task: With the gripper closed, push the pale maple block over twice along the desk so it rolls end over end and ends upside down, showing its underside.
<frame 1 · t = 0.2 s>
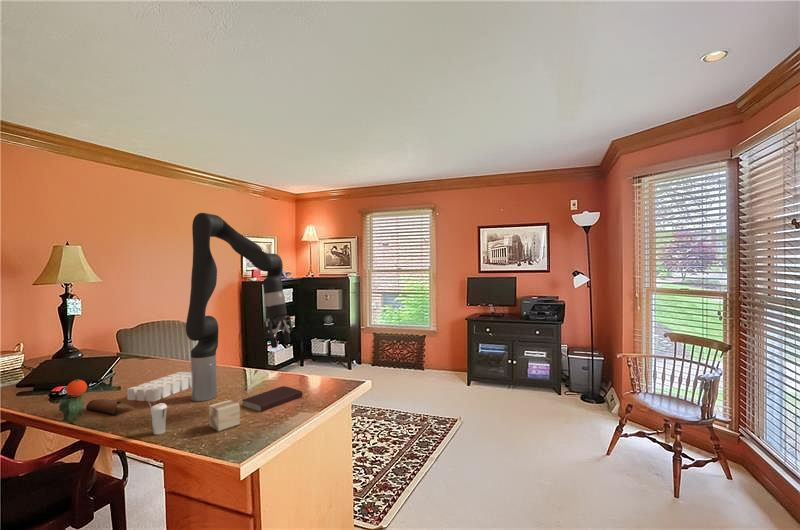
hand: (281, 345, 149), 22 cm above the table, tool pointing down, fingers open, 8 cm apart
milkshake: (158, 433, 124), on the table
maple block: (224, 426, 128), on the table
organizer: (175, 388, 173), on the table
sunglasses case: (111, 411, 146), on the table
book: (272, 403, 151), on the table
clementine: (76, 396, 164), on the table
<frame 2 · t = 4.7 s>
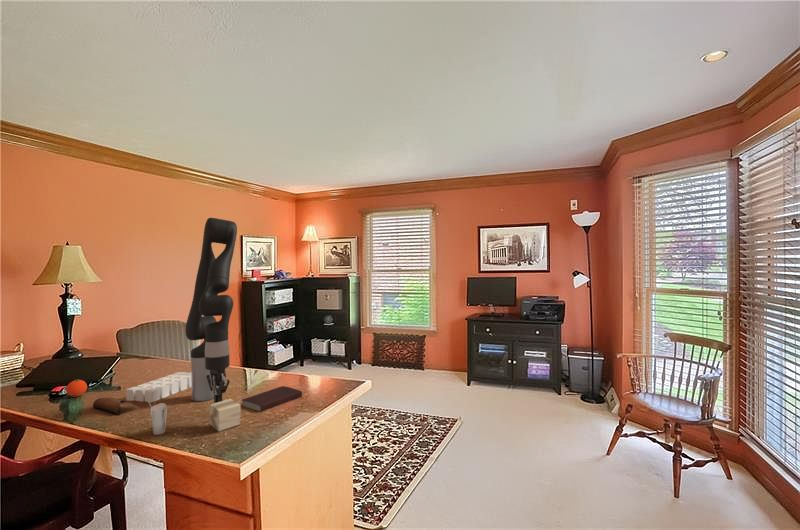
hand: (218, 404, 131), 6 cm above the table, tool pointing down, fingers closed
maple block: (224, 425, 128), on the table, touching gripper
sunglasses case: (116, 410, 148), on the table
everything else where it was.
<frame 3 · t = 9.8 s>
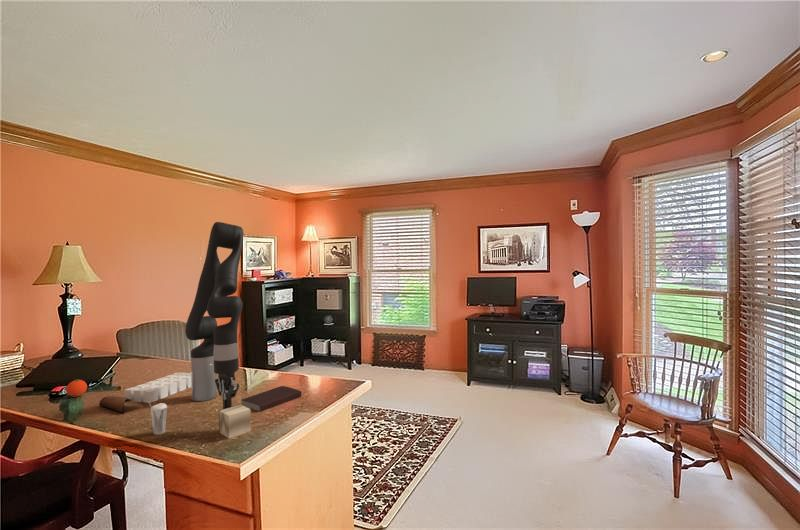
hand: (227, 409, 126), 6 cm above the table, tool pointing down, fingers closed
maple block: (229, 418, 125), point 4 cm above the table, tilted 90°, touching gripper
sunglasses case: (122, 408, 149), on the table
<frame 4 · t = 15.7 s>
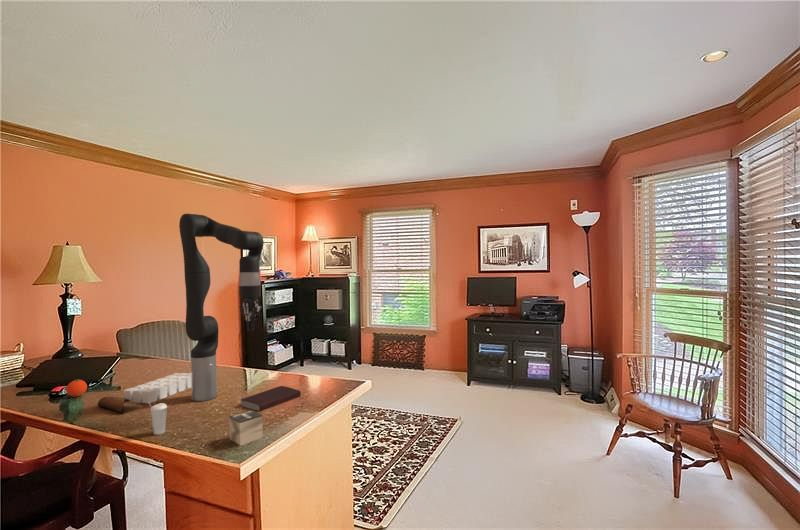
hand: (250, 330, 144), 29 cm above the table, tool pointing down, fingers closed
maple block: (245, 415, 118), point 7 cm above the table, tilted 180°
at the end: maple block tilted 180°; maple block inside the target area (0.8 cm from its centre), point 6.9 cm above the table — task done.
